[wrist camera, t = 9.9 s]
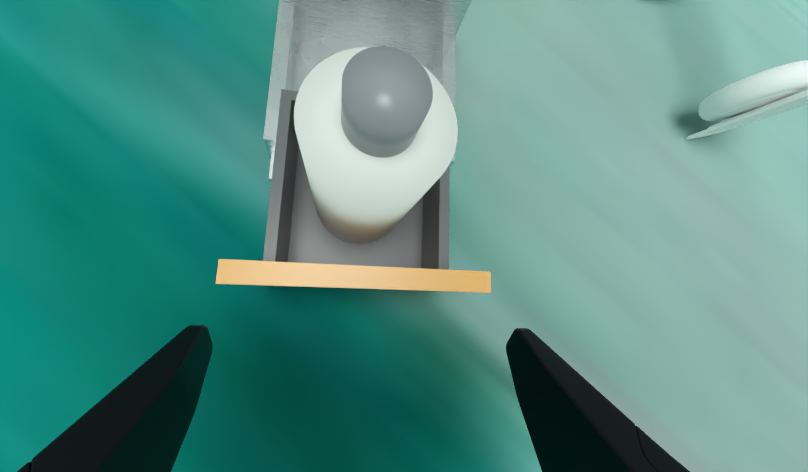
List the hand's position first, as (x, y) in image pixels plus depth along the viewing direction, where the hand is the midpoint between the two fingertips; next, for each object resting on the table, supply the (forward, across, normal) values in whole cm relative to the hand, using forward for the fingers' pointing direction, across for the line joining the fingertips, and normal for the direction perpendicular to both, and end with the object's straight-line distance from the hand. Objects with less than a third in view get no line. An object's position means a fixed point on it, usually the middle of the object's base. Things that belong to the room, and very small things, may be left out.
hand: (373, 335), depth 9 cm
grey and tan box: (+15, 0, +4) cm, 15 cm away
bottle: (+14, 0, +3) cm, 14 cm away
